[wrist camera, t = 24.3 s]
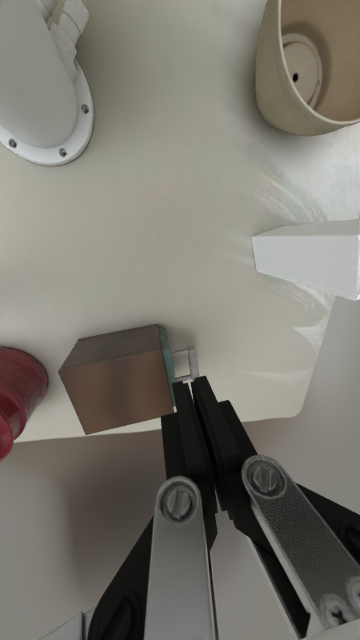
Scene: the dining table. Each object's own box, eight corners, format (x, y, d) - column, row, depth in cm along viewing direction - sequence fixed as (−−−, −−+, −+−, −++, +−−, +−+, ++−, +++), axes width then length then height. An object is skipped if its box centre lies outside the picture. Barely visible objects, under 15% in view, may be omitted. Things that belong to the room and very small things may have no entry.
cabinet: (157, 323, 38) (161, 350, 29) (167, 377, 42) (174, 414, 33) (78, 339, 36) (57, 371, 27) (98, 392, 41) (85, 435, 32)
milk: (287, 261, 37) (459, 290, 17) (255, 271, 37) (391, 314, 17) (284, 224, 35) (480, 208, 15) (250, 235, 35) (401, 234, 14)
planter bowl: (211, 128, 29) (247, 69, 19) (264, -38, 24) (350, -237, 14) (304, 178, 33) (375, 152, 23) (364, 45, 28) (487, -61, 18)
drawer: (187, 322, 37) (198, 342, 30) (194, 371, 41) (205, 399, 34) (92, 341, 36) (79, 367, 29) (108, 390, 40) (101, 423, 33)
